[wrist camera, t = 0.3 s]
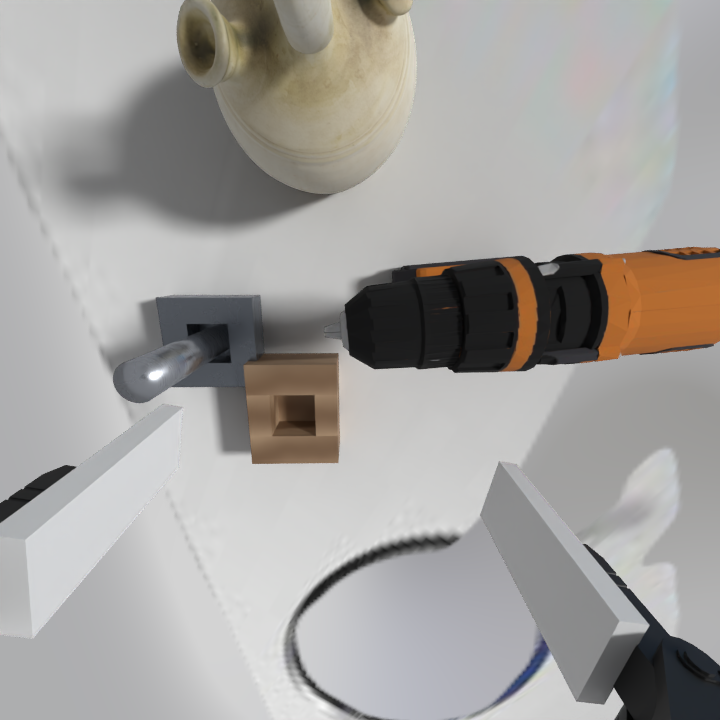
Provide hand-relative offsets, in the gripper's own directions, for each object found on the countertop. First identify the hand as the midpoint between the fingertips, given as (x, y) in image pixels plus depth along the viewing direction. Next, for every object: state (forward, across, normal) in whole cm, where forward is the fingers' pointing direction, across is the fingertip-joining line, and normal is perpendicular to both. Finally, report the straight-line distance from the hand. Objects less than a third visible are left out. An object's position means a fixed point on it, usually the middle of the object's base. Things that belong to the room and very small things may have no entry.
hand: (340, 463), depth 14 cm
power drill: (+28, +9, +6) cm, 30 cm away
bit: (+27, -15, -4) cm, 31 cm away
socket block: (+28, -15, -4) cm, 32 cm away
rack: (+28, -4, -10) cm, 30 cm away
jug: (+28, -6, +21) cm, 35 cm away
